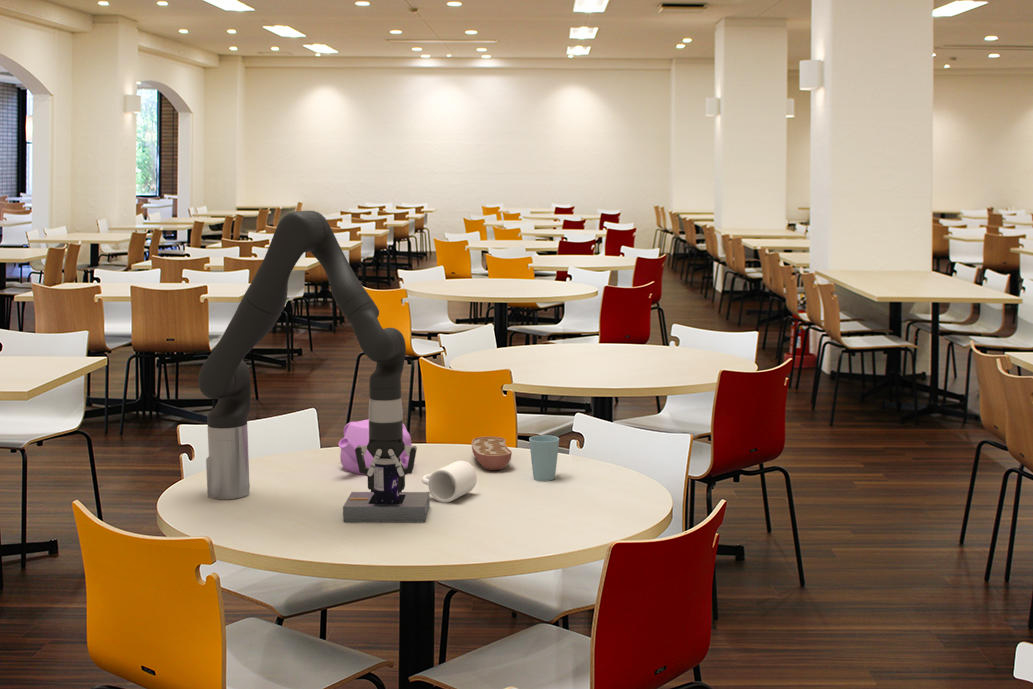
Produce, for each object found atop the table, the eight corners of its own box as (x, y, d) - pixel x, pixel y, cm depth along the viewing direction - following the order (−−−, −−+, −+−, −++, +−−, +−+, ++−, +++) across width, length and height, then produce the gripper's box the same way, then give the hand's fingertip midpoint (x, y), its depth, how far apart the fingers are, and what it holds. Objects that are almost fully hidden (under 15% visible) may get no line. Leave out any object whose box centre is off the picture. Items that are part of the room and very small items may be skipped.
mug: (477, 494, 258) (477, 462, 257) (457, 504, 249) (457, 471, 248) (433, 488, 263) (433, 457, 262) (413, 498, 254) (412, 466, 253)
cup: (533, 482, 268) (533, 442, 267) (525, 475, 276) (525, 435, 274) (562, 481, 270) (562, 440, 269) (554, 473, 277) (554, 434, 276)
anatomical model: (513, 473, 278) (513, 454, 278) (475, 474, 277) (475, 456, 276) (503, 453, 301) (503, 435, 300) (468, 454, 300) (468, 436, 299)
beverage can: (394, 512, 238) (394, 460, 236) (370, 511, 239) (369, 458, 237) (402, 505, 243) (402, 454, 242) (378, 504, 244) (378, 453, 243)
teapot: (412, 458, 294) (411, 407, 292) (414, 478, 273) (413, 423, 271) (342, 461, 292) (340, 409, 290) (339, 480, 271) (337, 425, 269)
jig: (343, 522, 235) (342, 505, 235) (351, 506, 247) (351, 491, 247) (424, 522, 235) (424, 505, 235) (429, 506, 247) (429, 491, 247)
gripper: (350, 421, 235) (352, 495, 237) (416, 421, 235) (416, 496, 237) (356, 414, 242) (357, 486, 244) (419, 414, 242) (420, 487, 244)
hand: (386, 491), depth 241 cm, fingers closed on beverage can, 5 cm apart
